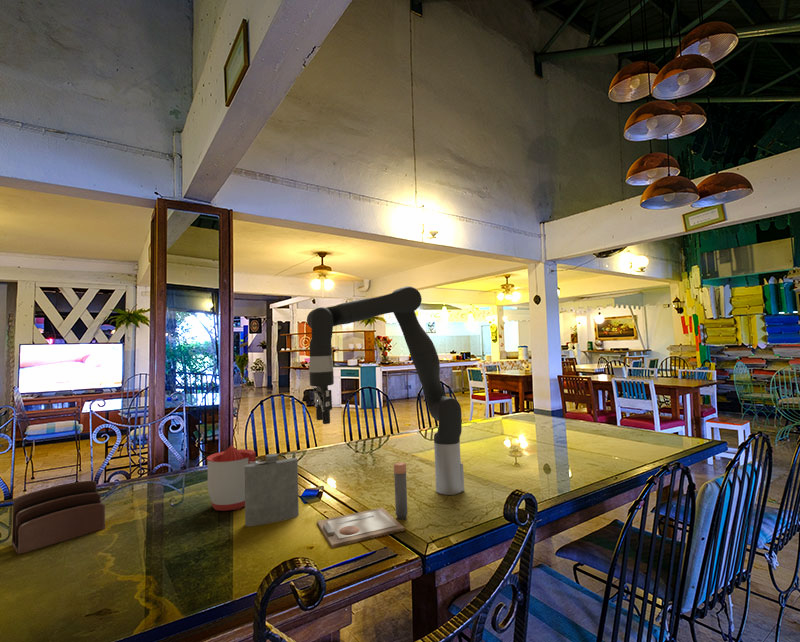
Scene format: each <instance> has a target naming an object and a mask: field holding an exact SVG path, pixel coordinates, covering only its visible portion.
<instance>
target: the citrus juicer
mask: <svg viewBox="0 0 800 642" xmlns="http://www.w3.org/2000/svg"><path fill="white" fill-rule="evenodd" d="M256 455H257V454H256V451H255V450H253V449H247V448H245V449H243V448H242V449H237V447H235V446H233V445H229V447H228V448H227V449H226V450H224V451H219V452H215V453H212V454H210V455H208V456H207V457H206V461H207V492H208V494H209V495H208V496H209V499H210V503H211V505H212V507H213V509H214V510H216V511H223V512H224V511H232V510H240V509H242V508H245V467H244V466H245V465H248V464H255V463H256V461H257V459H256Z"/></svg>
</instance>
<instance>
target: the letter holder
mask: <svg viewBox="0 0 800 642" xmlns="http://www.w3.org/2000/svg"><path fill="white" fill-rule="evenodd" d="M97 489H98V487H97V481H96V480H82V481H75V482H69V483H64V484H60V485H59V484H58V485H55V486H54V485H53V486H50V487H46V488H41V489H39V490H35V491H31V492H29V493H24V494H22V495H19V496H17V497H16V498H14V500H13V502H12V526H11V527H12V531H11V536H12V537H11V545H12V546H13V548H14V550H15V552H16V553H17V555H19V556H20V555H22V554H25V553H29V552H33V551H36V550H39V549H42V548H45V547H49V546H52V545H55V544H59V543H62V542H65V541H69V540H72V539H75V538H79V537H83V536H86V535H89V534H92V533H95V532H98V531H102V530H105V529H106V506H105V505H106V504H104V503H102V502H101V500H102V496H101V495H102V494H101V493H100V492H97Z"/></svg>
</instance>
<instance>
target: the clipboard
mask: <svg viewBox="0 0 800 642" xmlns="http://www.w3.org/2000/svg"><path fill="white" fill-rule="evenodd" d="M316 525H317V526H318V528H319V529H320V532H322V534H323V536H324V537H325V539H326V541H327V543H328V544H329V546H330V547H331V548H334V549H335V548H336V547H340V546H341V547H342V546H346V545H350V544H354V543H358V542H361V541H362V540H363V541H366V539H367V540H370V539H369V538H371V539H376V538H379V537H378V536H380V537H383V536H382V535H384V536H388V535H391V534H392V535H393V534H395V533H394V532H397V533H399V532H398V531H401V532H405V531H404V530H406V529H405V527H404V526H403V525H402V524H401V523H400V522H399V521H398V519H395V517H393V516H392V515H391V514H390V513H389V512H388V511H387V510H385V509H384V508H383V507H378V508H373V509H370V510H364V511H358V512H355V513H351V514H350V513H349V514H346V515H345V514H344V515H340V516H335V517H331V518H330V517H329V518H326V519H325V518H324V519H322V520H321V519H320V520H317V521H316ZM375 537H376V538H375ZM363 541H362V542H363Z"/></svg>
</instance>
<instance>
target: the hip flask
mask: <svg viewBox="0 0 800 642" xmlns="http://www.w3.org/2000/svg"><path fill="white" fill-rule="evenodd" d="M278 457H279V454H278V453H268V454H265V459H266V460H264V461H257V462H258V463H255V464H248V465H245V466H244V467H245V506H244V521H245V523H244V525H245V527H257V526H262V525H263V526H264V525H267V524H269V525H270V524H273V523H277V522H282V521H286V520H291V519H293V518H297V517H299V515H300V514H299V512H300V511H299V472H298V471H299V467H298V466H299V465H298V462H299V461H298V458H297V457H290V458H285V459H279V460H278Z"/></svg>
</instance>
